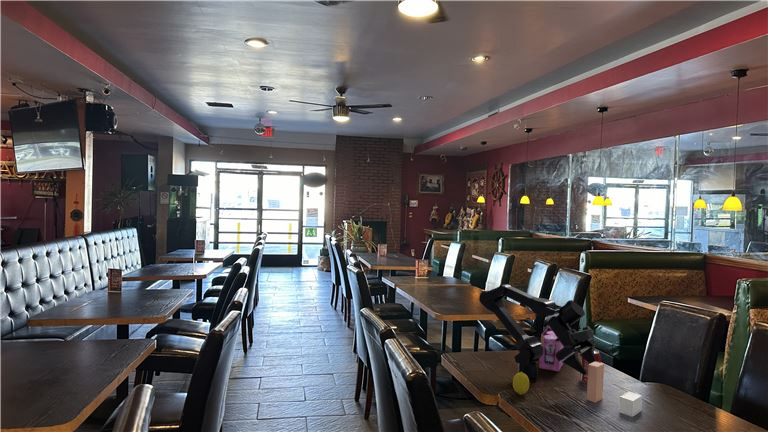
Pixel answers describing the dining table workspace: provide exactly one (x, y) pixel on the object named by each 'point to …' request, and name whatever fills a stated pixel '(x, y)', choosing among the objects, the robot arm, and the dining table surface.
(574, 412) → the dining table surface
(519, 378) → the lemon
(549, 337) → the gum box
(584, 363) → the soda can
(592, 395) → the stub
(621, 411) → the white long block
